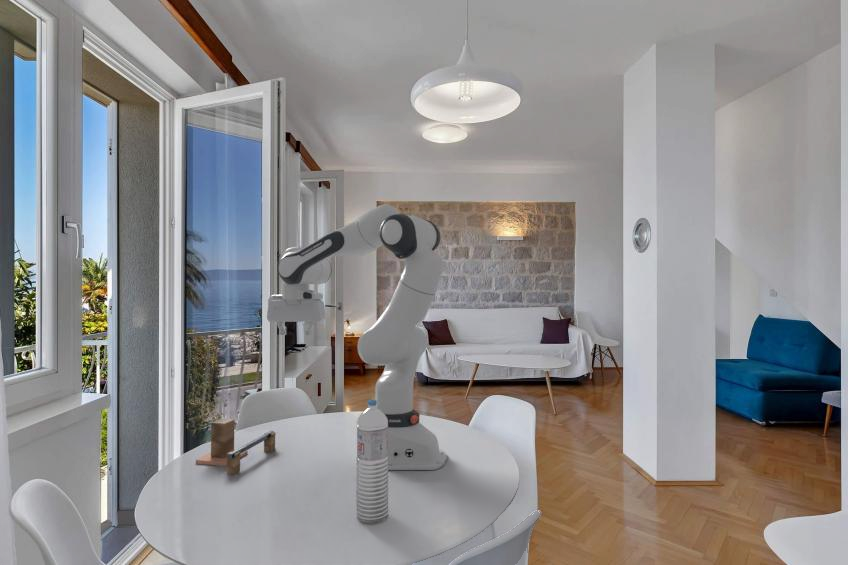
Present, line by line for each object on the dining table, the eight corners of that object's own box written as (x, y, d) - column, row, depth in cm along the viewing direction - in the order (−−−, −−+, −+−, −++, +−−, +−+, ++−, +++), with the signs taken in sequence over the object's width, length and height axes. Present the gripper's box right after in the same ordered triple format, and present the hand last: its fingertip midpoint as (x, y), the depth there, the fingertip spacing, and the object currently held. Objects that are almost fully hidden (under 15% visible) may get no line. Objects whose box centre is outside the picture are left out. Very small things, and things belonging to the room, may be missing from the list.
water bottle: (386, 525, 93) (386, 404, 93) (353, 525, 93) (353, 404, 94) (389, 509, 99) (389, 397, 100) (359, 509, 100) (359, 397, 100)
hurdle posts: (275, 449, 140) (275, 432, 140) (235, 475, 120) (235, 454, 120) (267, 449, 140) (267, 431, 140) (226, 474, 120) (226, 453, 120)
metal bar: (273, 434, 140) (274, 431, 140) (232, 458, 120) (232, 454, 120) (270, 434, 140) (270, 430, 140) (228, 458, 120) (228, 453, 120)
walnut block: (234, 453, 134) (234, 419, 134) (224, 458, 129) (224, 423, 130) (220, 452, 135) (221, 418, 135) (210, 457, 130) (211, 422, 131)
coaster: (247, 453, 136) (247, 450, 136) (226, 466, 126) (226, 462, 126) (218, 451, 138) (218, 448, 138) (195, 463, 128) (195, 460, 128)
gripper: (263, 295, 152) (263, 335, 151) (319, 294, 147) (319, 336, 147) (273, 295, 158) (273, 334, 157) (327, 294, 154) (327, 334, 153)
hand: (295, 335), depth 152 cm, fingers open, 8 cm apart
